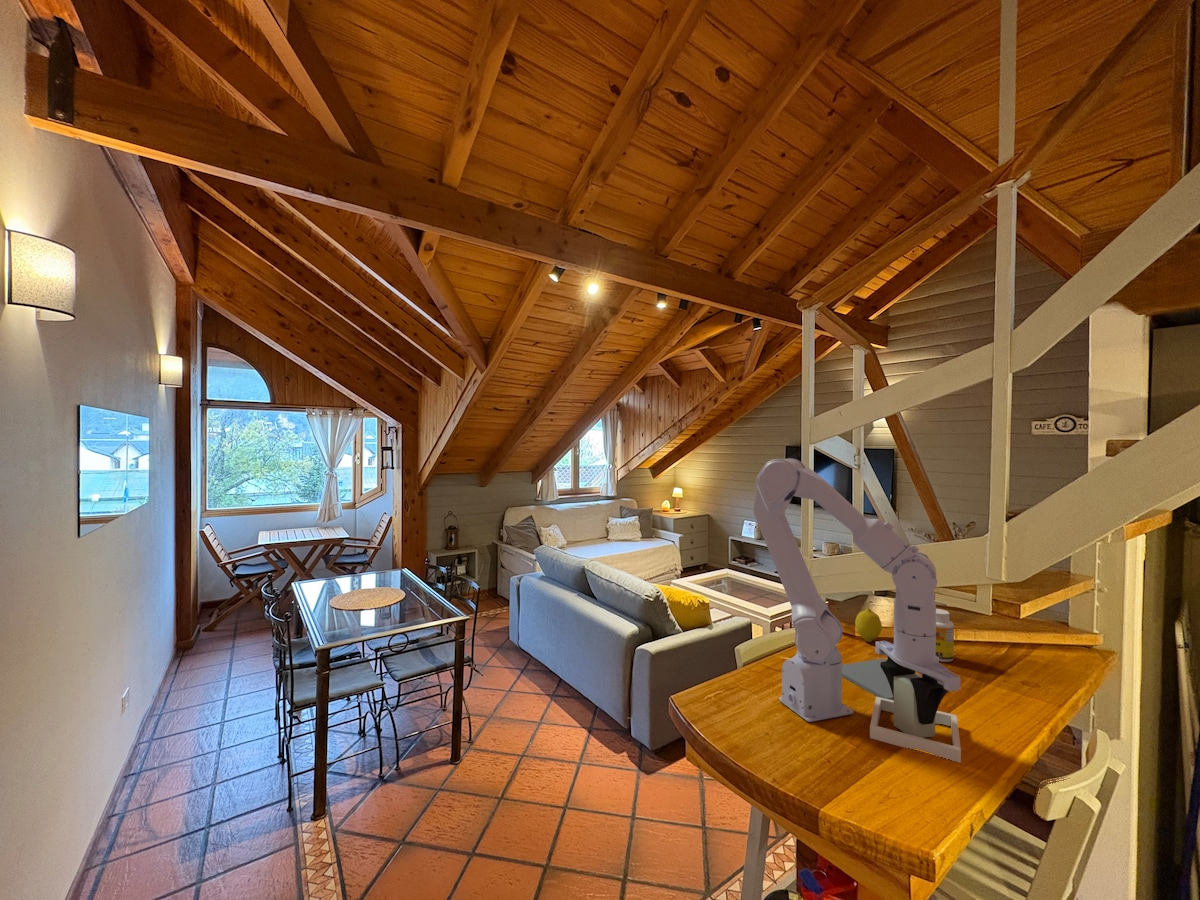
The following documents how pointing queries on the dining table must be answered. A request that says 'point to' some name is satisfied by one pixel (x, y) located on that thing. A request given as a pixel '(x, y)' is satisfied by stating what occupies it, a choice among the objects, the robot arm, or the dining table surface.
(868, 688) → the mat
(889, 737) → the rectangular frame
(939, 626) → the supplement bottle
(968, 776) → the dining table surface
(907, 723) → the block
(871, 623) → the fruit
